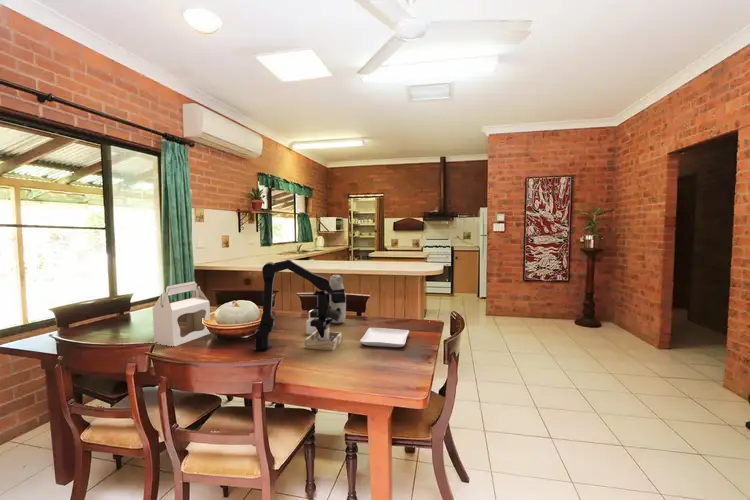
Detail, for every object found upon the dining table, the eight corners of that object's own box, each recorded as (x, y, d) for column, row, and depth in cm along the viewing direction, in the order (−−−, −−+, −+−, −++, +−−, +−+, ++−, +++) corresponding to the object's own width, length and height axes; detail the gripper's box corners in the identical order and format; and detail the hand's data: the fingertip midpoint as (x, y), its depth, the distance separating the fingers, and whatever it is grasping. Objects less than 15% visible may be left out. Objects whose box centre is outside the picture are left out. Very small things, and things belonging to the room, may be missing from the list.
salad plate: (404, 350, 158) (404, 343, 157) (359, 347, 162) (359, 340, 162) (409, 336, 178) (409, 329, 178) (369, 333, 183) (369, 327, 182)
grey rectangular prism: (326, 343, 164) (326, 326, 163) (318, 342, 164) (318, 325, 164) (329, 340, 168) (329, 323, 167) (321, 339, 168) (321, 323, 168)
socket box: (333, 350, 158) (333, 341, 158) (304, 348, 161) (304, 340, 160) (342, 340, 172) (342, 332, 171) (315, 338, 174) (315, 330, 174)
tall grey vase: (349, 322, 203) (348, 274, 201) (338, 326, 194) (337, 276, 192) (335, 319, 208) (335, 273, 206) (324, 323, 200) (323, 275, 197)
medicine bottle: (323, 330, 187) (322, 308, 186) (319, 334, 180) (319, 312, 179) (310, 330, 188) (309, 308, 187) (306, 334, 181) (305, 311, 180)
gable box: (173, 347, 163) (169, 288, 161) (153, 343, 168) (150, 286, 166) (211, 333, 184) (209, 280, 182) (193, 330, 189) (190, 279, 187)
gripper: (333, 309, 154) (333, 343, 155) (345, 300, 172) (345, 331, 173) (309, 308, 156) (310, 342, 157) (324, 299, 174) (324, 329, 176)
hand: (323, 336), depth 166 cm, fingers closed on grey rectangular prism, 4 cm apart
